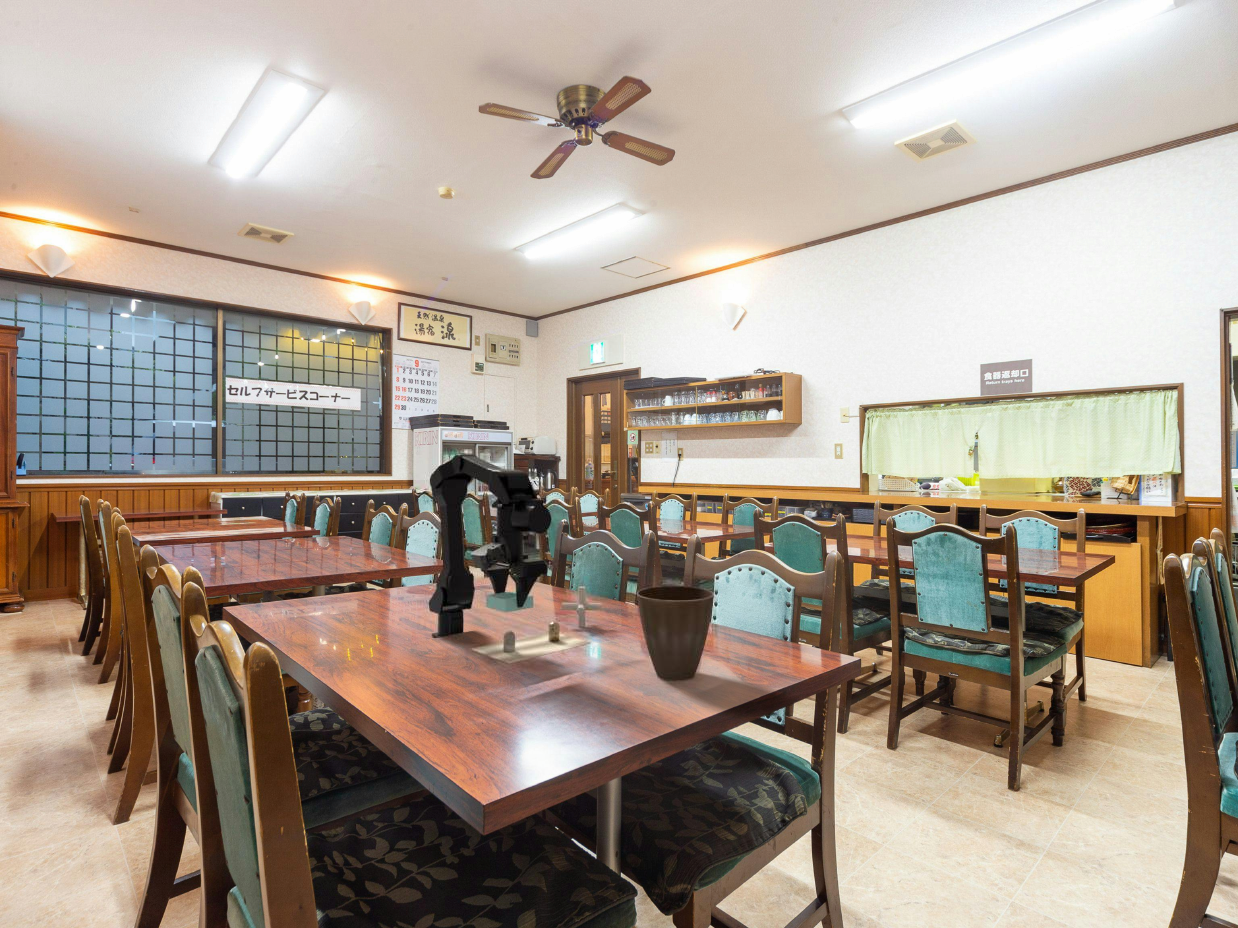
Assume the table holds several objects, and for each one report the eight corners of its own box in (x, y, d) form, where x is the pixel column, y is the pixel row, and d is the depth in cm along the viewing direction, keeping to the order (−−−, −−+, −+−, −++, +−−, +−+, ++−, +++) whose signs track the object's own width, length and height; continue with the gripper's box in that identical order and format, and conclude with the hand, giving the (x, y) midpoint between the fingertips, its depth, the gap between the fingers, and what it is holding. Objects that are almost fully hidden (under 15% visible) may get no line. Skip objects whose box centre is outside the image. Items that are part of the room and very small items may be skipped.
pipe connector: (600, 632, 157) (600, 591, 158) (559, 631, 158) (560, 590, 158) (602, 622, 167) (602, 583, 168) (564, 621, 168) (564, 583, 168)
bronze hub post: (546, 640, 144) (546, 621, 144) (554, 638, 145) (554, 620, 145) (553, 642, 142) (553, 623, 142) (561, 640, 143) (561, 621, 144)
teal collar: (486, 607, 135) (486, 595, 135) (513, 602, 140) (513, 590, 140) (505, 612, 130) (505, 600, 130) (533, 607, 135) (533, 595, 135)
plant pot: (666, 693, 115) (666, 603, 115) (621, 670, 127) (622, 589, 127) (729, 679, 123) (730, 595, 123) (681, 659, 135) (682, 583, 135)
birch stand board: (470, 655, 137) (470, 628, 137) (551, 637, 152) (552, 613, 152) (508, 671, 127) (508, 641, 127) (591, 649, 142) (591, 623, 142)
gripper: (453, 529, 136) (452, 603, 136) (503, 536, 123) (503, 618, 123) (497, 526, 144) (496, 596, 144) (549, 532, 131) (549, 609, 131)
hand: (509, 604), depth 135 cm, fingers closed on teal collar, 7 cm apart
